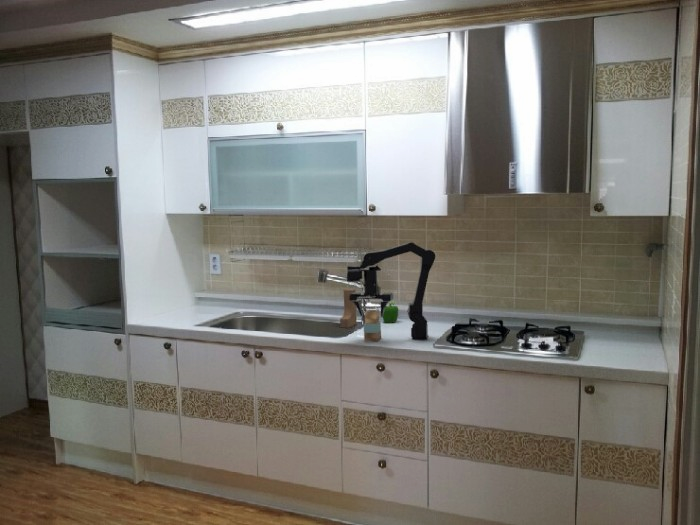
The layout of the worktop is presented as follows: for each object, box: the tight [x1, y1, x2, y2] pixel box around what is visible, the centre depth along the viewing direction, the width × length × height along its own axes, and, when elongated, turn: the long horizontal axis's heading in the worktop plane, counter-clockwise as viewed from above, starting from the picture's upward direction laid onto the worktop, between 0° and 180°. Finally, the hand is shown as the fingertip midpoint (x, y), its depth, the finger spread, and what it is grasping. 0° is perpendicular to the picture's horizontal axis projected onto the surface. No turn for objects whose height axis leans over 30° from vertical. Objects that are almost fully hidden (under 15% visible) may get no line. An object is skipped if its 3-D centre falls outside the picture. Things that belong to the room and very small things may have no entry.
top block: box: [363, 320, 382, 334], centre depth 272 cm, size 6×6×4 cm
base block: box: [363, 329, 382, 343], centre depth 273 cm, size 6×6×4 cm
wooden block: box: [339, 288, 358, 329], centre depth 305 cm, size 9×4×18 cm, turn 150°
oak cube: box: [364, 309, 380, 324], centre depth 272 cm, size 5×5×5 cm
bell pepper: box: [382, 302, 399, 324], centre depth 311 cm, size 8×8×10 cm
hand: (371, 316), depth 272 cm, fingers open, 9 cm apart
